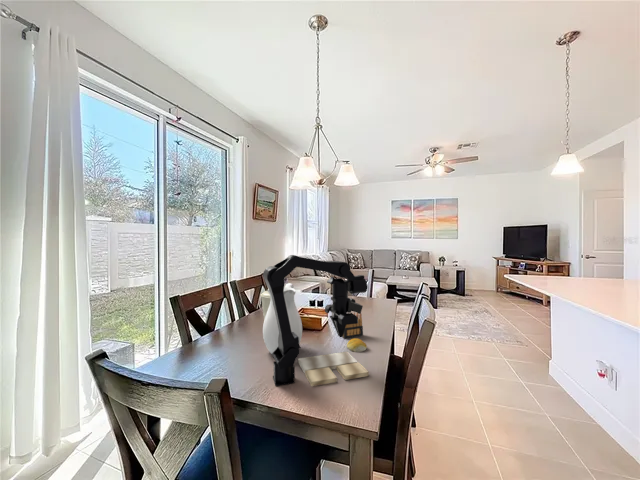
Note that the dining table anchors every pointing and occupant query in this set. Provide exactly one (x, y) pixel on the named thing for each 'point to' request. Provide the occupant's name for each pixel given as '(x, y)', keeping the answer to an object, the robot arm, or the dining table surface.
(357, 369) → the plank outer
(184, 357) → the dining table surface
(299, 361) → the board
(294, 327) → the pitcher
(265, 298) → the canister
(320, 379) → the plank inner
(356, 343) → the bread roll
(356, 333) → the ammunition clip
